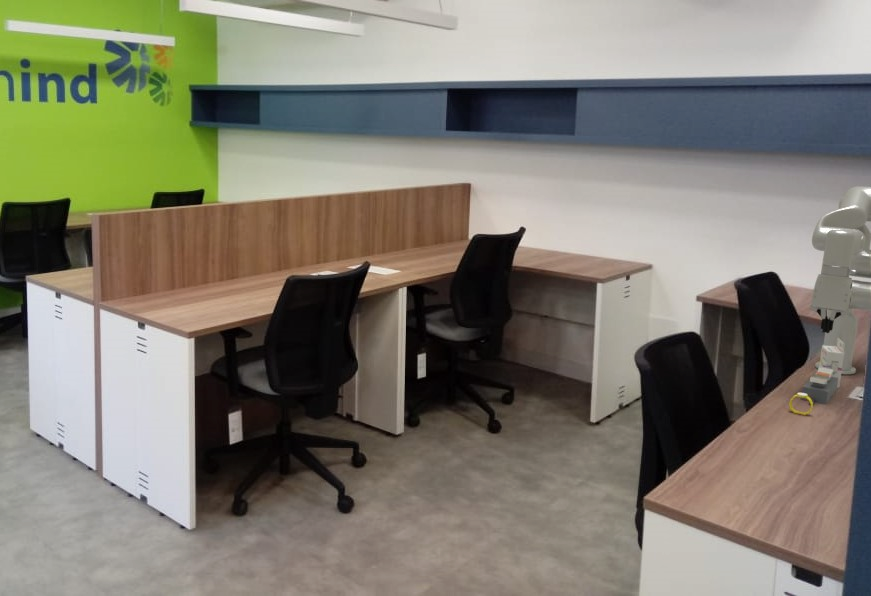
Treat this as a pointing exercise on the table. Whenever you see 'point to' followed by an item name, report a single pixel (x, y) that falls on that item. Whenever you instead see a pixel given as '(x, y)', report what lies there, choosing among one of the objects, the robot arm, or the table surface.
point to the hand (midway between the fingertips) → (826, 332)
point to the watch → (802, 397)
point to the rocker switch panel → (820, 390)
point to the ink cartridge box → (833, 359)
